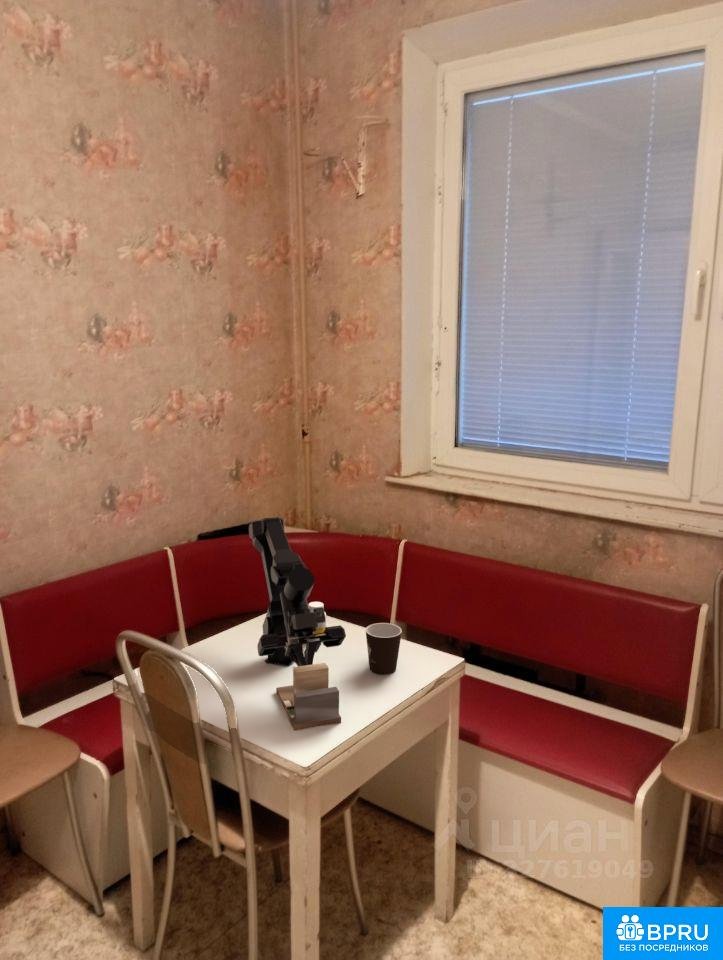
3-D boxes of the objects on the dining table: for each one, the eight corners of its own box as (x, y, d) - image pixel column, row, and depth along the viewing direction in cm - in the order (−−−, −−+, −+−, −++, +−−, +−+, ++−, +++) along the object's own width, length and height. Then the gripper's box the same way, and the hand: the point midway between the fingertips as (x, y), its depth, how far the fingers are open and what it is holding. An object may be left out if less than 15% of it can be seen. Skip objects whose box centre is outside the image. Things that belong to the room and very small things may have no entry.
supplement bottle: (302, 636, 191) (302, 602, 189) (321, 633, 193) (322, 599, 191) (309, 644, 186) (309, 609, 184) (328, 641, 188) (329, 606, 186)
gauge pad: (285, 707, 152) (285, 668, 150) (325, 701, 155) (325, 662, 153) (288, 713, 149) (288, 673, 148) (328, 707, 152) (328, 667, 150)
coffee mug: (397, 679, 168) (398, 639, 166) (361, 675, 170) (362, 635, 168) (404, 657, 179) (405, 620, 177) (370, 654, 181) (371, 616, 179)
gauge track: (276, 692, 161) (276, 662, 160) (319, 686, 164) (319, 656, 163) (294, 730, 146) (294, 698, 144) (341, 722, 149) (341, 690, 148)
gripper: (259, 599, 151) (271, 671, 143) (343, 590, 157) (359, 658, 149) (252, 621, 160) (263, 689, 152) (332, 611, 166) (347, 677, 158)
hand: (308, 678), depth 152 cm, fingers closed, pressing on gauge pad
